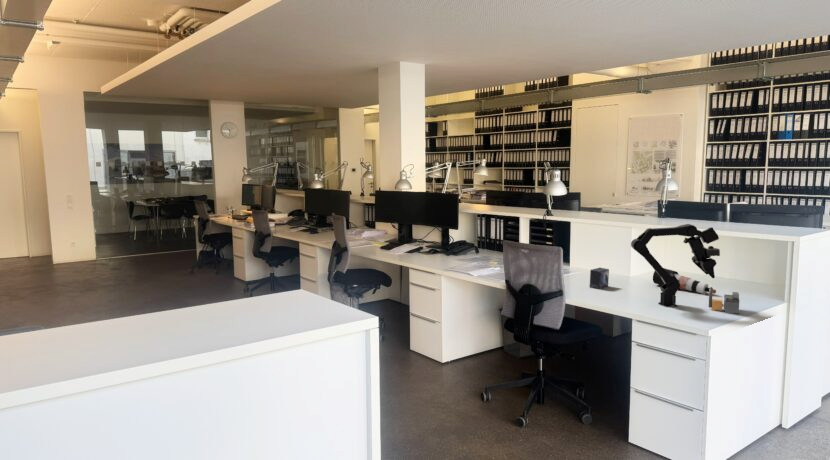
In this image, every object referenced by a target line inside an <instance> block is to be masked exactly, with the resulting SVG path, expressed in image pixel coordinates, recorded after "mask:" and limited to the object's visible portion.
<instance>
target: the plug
mask: <svg viewBox="0 0 830 460" xmlns="http://www.w3.org/2000/svg"><path fill="white" fill-rule="evenodd" d="M709 288H710V289H709V292H708V308H710V309H711V310H712V311H723V308H724V301H723V299H719V298H713V294H714V293H713V289H714V288H713V287H710V286H709Z"/></svg>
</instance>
